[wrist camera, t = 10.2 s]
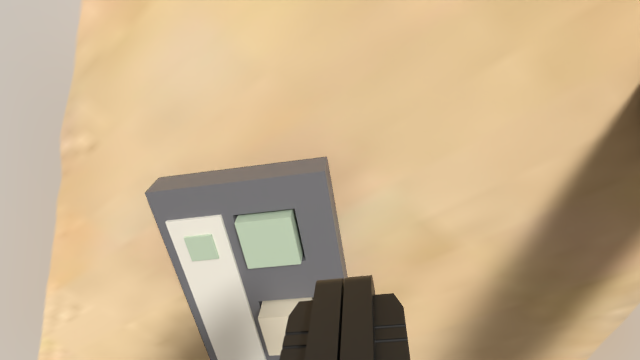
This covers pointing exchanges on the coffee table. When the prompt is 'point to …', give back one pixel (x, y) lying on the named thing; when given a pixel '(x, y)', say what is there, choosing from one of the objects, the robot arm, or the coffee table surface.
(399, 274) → the coffee table surface
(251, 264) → the button sage
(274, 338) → the button sand
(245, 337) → the button board
